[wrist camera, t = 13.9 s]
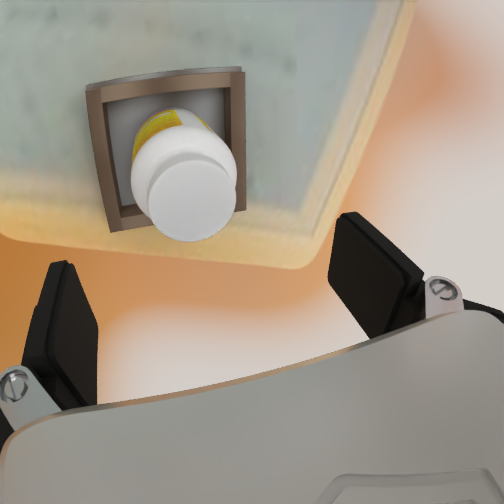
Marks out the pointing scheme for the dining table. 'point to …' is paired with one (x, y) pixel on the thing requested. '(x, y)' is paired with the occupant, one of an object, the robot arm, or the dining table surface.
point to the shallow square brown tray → (145, 104)
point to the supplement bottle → (183, 175)
